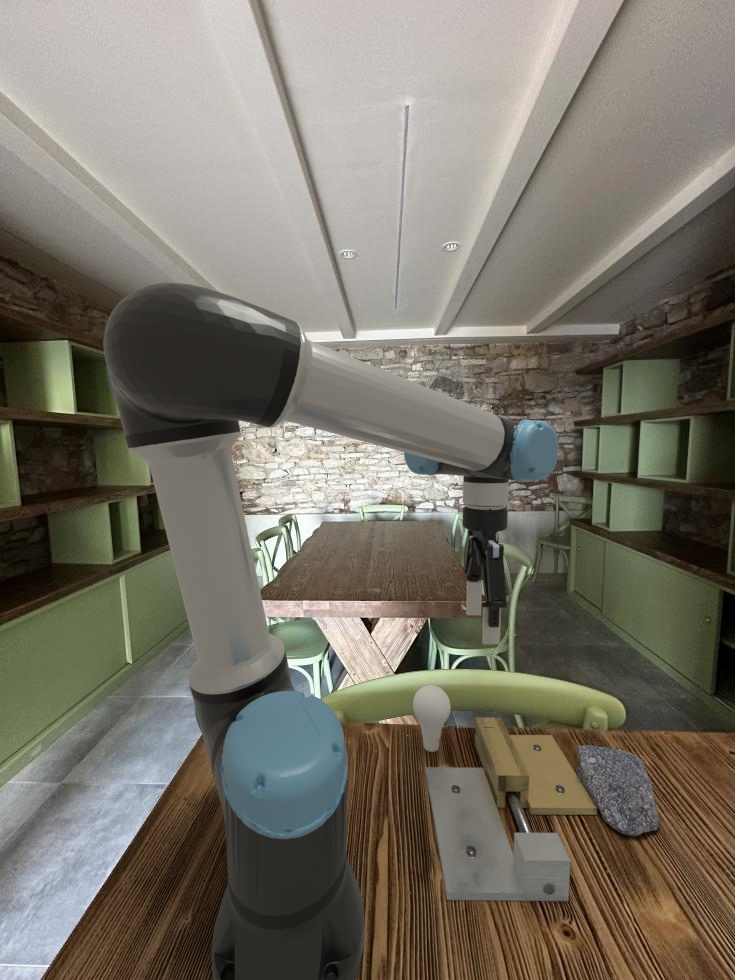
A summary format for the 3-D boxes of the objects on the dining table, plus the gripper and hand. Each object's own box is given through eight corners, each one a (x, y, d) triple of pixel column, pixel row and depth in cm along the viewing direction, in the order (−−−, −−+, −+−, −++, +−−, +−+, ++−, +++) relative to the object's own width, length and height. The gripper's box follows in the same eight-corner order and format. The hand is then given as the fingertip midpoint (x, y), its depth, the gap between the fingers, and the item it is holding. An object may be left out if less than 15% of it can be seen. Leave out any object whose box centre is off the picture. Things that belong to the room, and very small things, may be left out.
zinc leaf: (446, 900, 45) (447, 859, 44) (420, 742, 69) (420, 715, 68) (568, 901, 45) (570, 860, 44) (499, 742, 68) (500, 715, 68)
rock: (567, 742, 63) (633, 737, 62) (568, 771, 64) (634, 767, 63) (609, 814, 51) (691, 809, 50) (610, 850, 52) (690, 845, 51)
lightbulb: (434, 771, 63) (435, 704, 61) (404, 749, 67) (405, 687, 66) (457, 751, 67) (458, 688, 65) (428, 732, 71) (429, 673, 70)
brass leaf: (499, 814, 55) (500, 781, 55) (473, 740, 69) (474, 713, 68) (596, 814, 55) (598, 781, 54) (551, 740, 69) (552, 713, 68)
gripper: (533, 517, 58) (527, 662, 60) (487, 497, 81) (484, 602, 83) (481, 517, 58) (477, 662, 60) (450, 497, 81) (448, 602, 84)
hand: (481, 627), depth 72 cm, fingers open, 11 cm apart
